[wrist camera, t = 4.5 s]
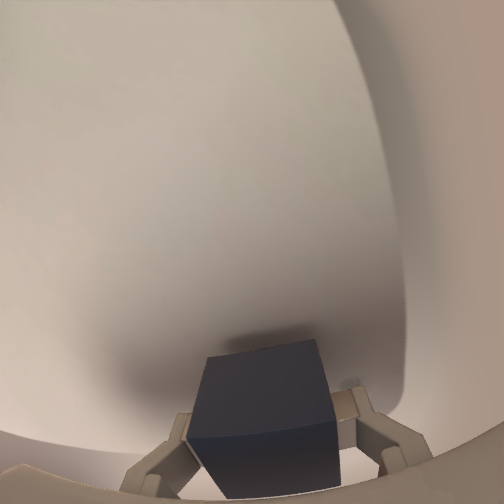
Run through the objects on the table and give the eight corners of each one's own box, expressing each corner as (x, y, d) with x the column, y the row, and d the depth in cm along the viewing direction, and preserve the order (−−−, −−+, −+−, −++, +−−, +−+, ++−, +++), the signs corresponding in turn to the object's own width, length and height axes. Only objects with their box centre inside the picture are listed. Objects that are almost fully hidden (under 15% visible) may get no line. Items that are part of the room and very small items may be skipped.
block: (314, 338, 11) (336, 418, 7) (325, 411, 12) (341, 486, 8) (207, 357, 12) (184, 437, 7) (235, 426, 13) (226, 499, 9)
